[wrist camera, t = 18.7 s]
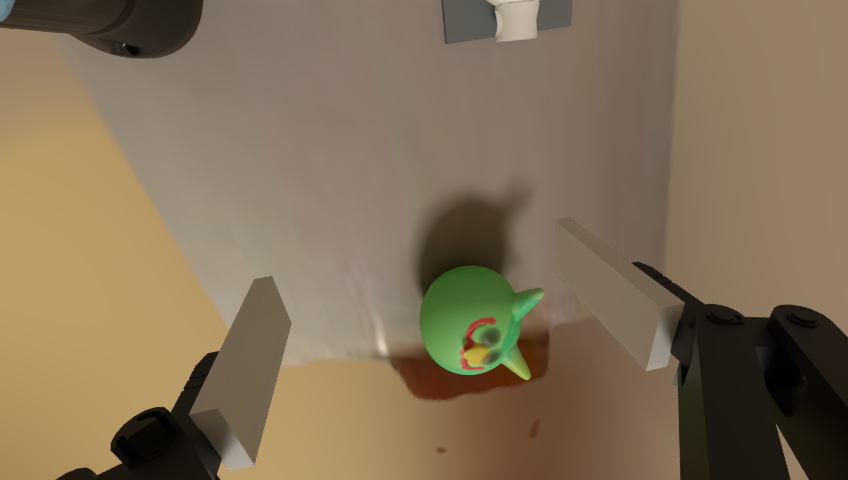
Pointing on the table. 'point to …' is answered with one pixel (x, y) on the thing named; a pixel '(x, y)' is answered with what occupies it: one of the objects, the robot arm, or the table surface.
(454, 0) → the mat
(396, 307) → the table surface
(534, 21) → the bottle
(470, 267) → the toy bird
